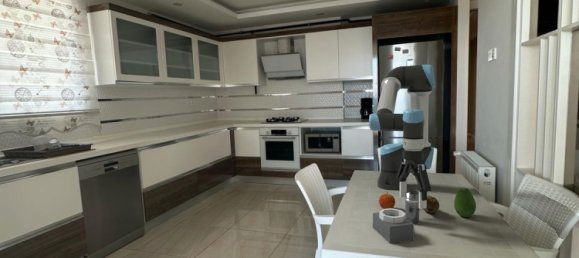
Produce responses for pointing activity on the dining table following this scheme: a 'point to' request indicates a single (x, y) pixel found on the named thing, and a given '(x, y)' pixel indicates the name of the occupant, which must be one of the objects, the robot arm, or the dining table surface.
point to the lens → (412, 206)
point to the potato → (432, 204)
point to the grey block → (393, 225)
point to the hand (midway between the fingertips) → (412, 202)
